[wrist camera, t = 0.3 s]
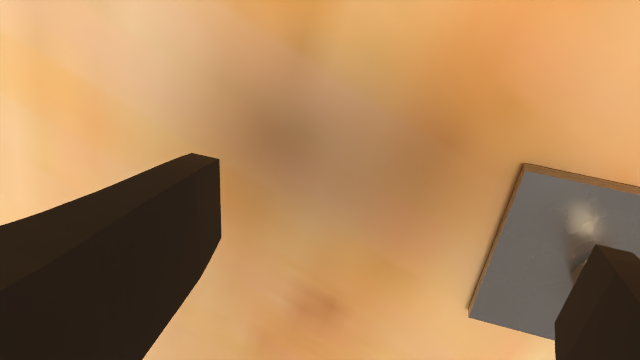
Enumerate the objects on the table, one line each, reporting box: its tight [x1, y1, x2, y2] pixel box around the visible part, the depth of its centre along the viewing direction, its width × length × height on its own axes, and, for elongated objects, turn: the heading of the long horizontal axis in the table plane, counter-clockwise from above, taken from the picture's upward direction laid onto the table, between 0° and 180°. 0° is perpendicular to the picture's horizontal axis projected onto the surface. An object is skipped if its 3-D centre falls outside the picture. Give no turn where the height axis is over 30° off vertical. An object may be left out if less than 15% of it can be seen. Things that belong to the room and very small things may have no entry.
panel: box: [468, 163, 640, 340], centre depth 18 cm, size 8×8×4 cm
